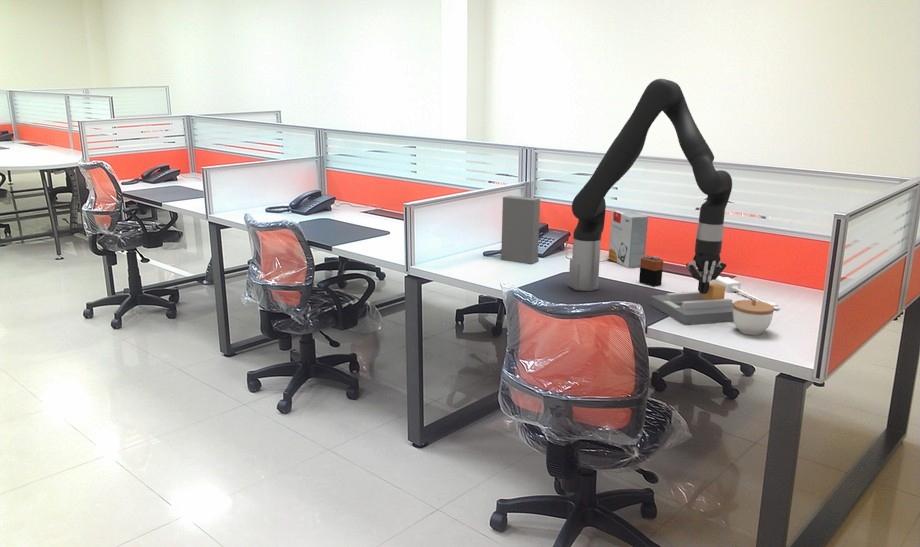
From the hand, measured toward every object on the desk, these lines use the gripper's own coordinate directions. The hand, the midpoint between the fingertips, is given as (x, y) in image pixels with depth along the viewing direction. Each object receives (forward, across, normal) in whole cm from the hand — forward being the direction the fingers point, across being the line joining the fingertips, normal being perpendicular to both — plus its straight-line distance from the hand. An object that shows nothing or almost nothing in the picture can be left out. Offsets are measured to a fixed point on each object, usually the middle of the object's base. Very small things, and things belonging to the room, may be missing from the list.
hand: (702, 293), depth 217 cm
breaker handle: (+3, +4, 0) cm, 5 cm away
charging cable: (+6, +24, +14) cm, 29 cm away
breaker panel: (+6, -1, 0) cm, 6 cm away
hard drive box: (+6, +7, +63) cm, 64 cm away
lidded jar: (+6, +4, -19) cm, 20 cm away
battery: (+6, +1, +33) cm, 34 cm away
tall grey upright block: (+7, -33, +75) cm, 82 cm away
